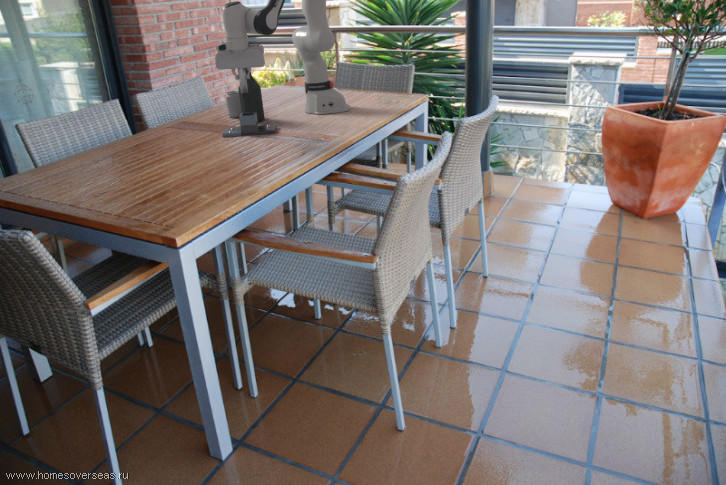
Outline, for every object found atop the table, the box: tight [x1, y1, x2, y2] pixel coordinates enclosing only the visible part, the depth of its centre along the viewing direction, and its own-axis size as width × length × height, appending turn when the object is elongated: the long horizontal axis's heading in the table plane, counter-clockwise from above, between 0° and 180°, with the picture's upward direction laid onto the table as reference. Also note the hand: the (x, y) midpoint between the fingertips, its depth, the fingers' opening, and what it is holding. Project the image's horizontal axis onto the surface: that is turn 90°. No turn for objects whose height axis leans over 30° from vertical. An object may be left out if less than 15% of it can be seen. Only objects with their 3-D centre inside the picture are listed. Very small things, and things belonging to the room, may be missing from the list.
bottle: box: [237, 68, 265, 123], centre depth 264 cm, size 10×10×30 cm
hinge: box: [221, 112, 278, 138], centre depth 249 cm, size 23×10×8 cm, turn 93°
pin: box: [237, 68, 248, 93], centre depth 240 cm, size 3×3×12 cm
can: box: [224, 90, 242, 119], centre depth 278 cm, size 8×8×12 cm
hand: (242, 79), depth 241 cm, fingers closed on pin, 3 cm apart
